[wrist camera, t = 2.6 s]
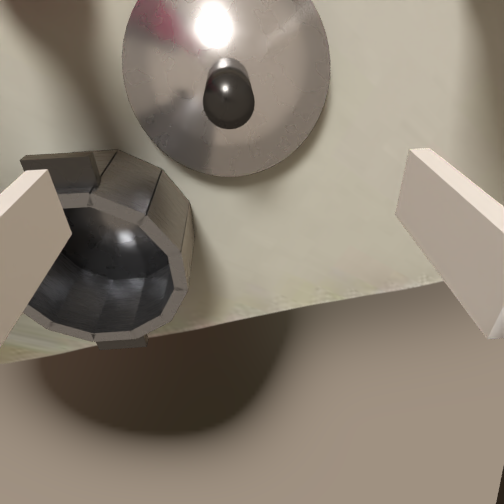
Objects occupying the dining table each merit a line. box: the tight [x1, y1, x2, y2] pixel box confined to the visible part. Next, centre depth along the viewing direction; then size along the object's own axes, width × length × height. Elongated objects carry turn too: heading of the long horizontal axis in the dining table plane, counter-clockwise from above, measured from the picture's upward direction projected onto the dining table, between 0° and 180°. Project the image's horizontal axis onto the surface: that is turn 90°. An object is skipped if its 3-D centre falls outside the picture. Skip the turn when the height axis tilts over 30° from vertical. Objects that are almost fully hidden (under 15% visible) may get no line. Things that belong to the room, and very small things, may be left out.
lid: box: [122, 0, 330, 177], centre depth 28 cm, size 17×17×10 cm
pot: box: [20, 150, 195, 350], centre depth 36 cm, size 21×16×9 cm
